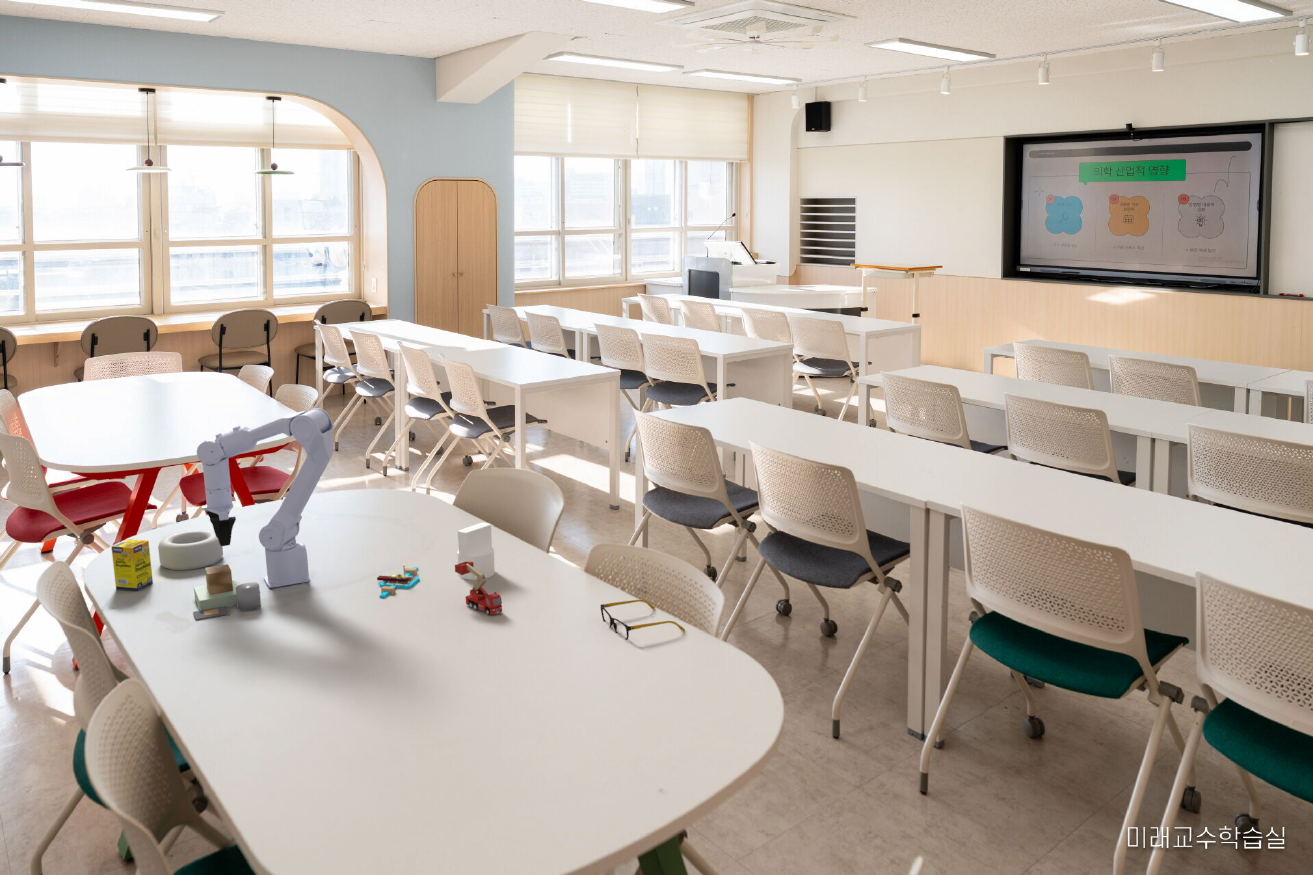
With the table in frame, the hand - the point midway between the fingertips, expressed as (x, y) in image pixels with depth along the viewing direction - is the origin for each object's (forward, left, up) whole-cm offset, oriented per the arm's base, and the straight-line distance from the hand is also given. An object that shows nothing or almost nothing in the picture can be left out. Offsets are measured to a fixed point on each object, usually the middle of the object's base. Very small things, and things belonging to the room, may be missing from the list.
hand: (223, 541), depth 253 cm
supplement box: (+20, -6, -10) cm, 23 cm away
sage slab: (+3, +14, -10) cm, 18 cm away
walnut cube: (+3, +14, -8) cm, 16 cm away
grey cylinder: (-2, +22, -10) cm, 24 cm away
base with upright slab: (-55, +26, -10) cm, 62 cm away
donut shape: (+6, -19, -10) cm, 22 cm away
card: (+6, +22, -10) cm, 25 cm away
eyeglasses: (-75, +75, -11) cm, 107 cm away
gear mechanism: (-36, +23, -11) cm, 44 cm away
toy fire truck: (-48, +48, -10) cm, 69 cm away
